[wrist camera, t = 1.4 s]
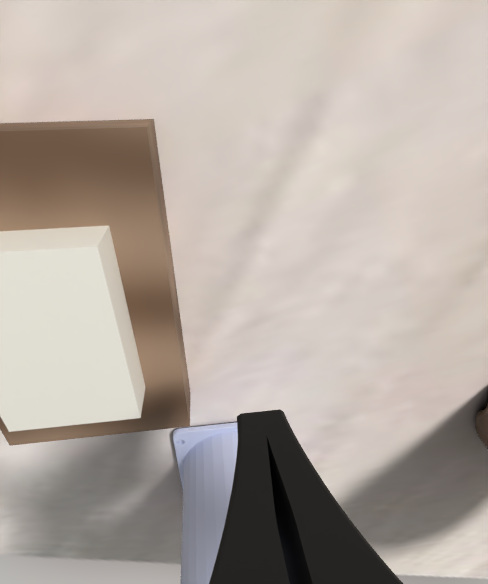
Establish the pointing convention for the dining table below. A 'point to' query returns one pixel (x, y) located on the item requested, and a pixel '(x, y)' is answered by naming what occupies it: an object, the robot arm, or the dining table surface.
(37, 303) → the cream block
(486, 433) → the plant pot
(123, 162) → the walnut board
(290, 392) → the dining table surface
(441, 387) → the dining table surface
